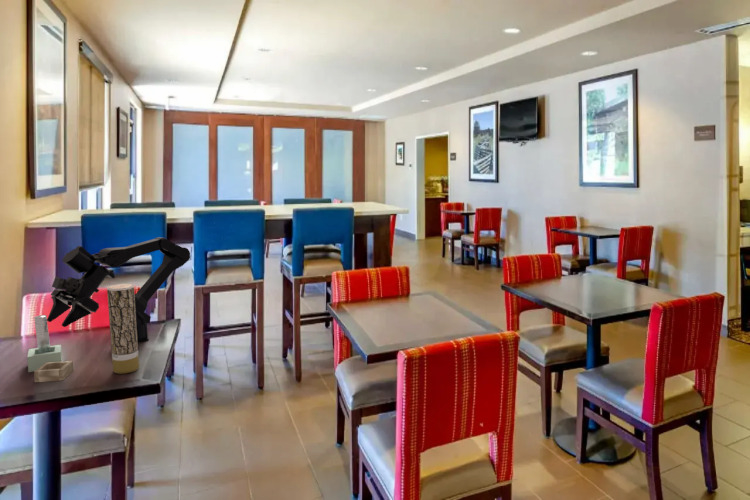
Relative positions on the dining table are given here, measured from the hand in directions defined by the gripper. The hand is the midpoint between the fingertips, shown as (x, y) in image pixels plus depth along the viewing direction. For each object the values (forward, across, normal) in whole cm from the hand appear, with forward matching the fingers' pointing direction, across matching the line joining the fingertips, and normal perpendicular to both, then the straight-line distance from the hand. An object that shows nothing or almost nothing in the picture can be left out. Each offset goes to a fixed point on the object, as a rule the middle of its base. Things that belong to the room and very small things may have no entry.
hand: (55, 323), depth 144 cm
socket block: (+11, 0, +6) cm, 12 cm away
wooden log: (+3, +24, +14) cm, 28 cm away
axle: (+10, 0, +5) cm, 11 cm away
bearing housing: (+13, +12, +4) cm, 18 cm away
